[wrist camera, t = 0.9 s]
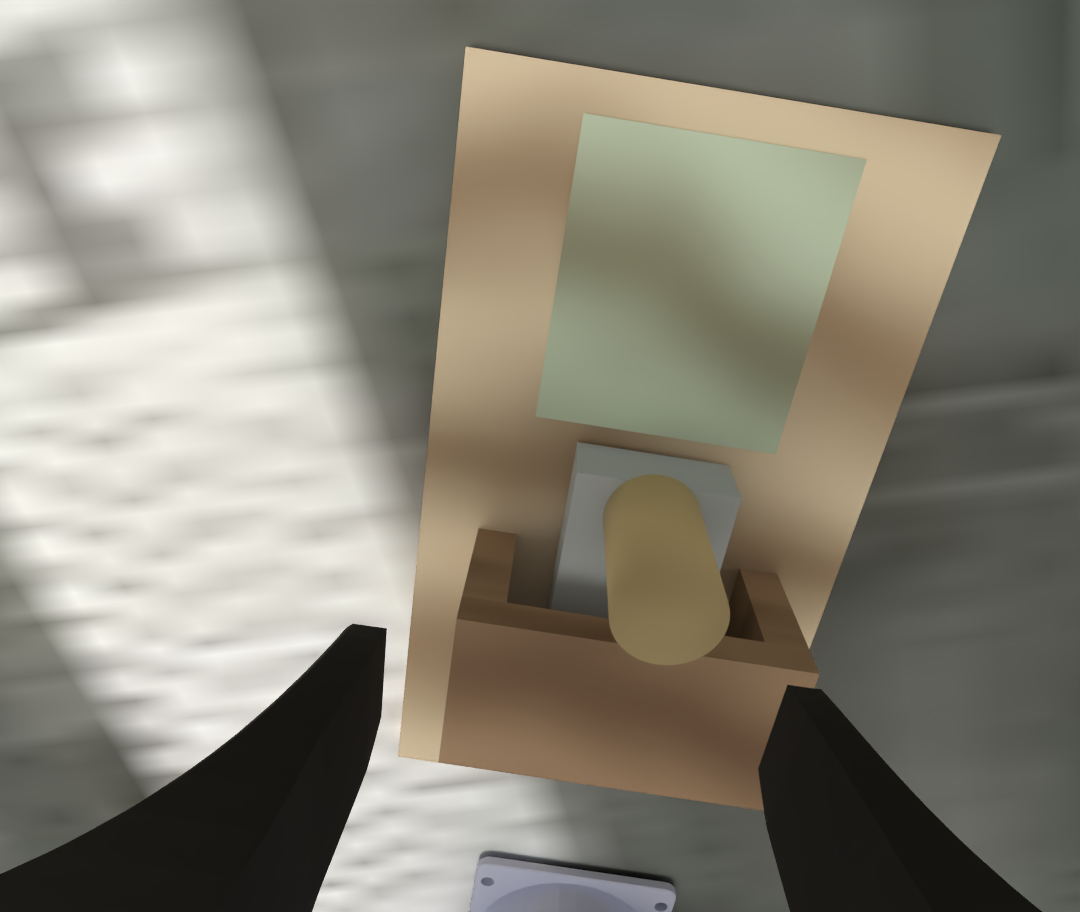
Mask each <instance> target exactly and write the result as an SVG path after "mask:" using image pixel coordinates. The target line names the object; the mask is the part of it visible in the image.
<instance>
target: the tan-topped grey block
mask: <svg viewBox="0 0 1080 912" xmlns="http://www.w3.org/2000/svg"><path fill="white" fill-rule="evenodd" d="M741 499H742V497H741V495H740V493H739V490H738V488H737V485H736V483H735V481H734V478H733V476H732V473H731V471H730V469H729V466H727V465H721V464H714V463H708V462H702V461H695V460H689V459H682V458H676V457H670V456H663V455H657V454H651V453H644V452H638V451H631V450H625V449H619V448H612V447H606V446H599V445H593V444H587V443H580V442H577V447H576V452H575V458H574V463H573V468H572V474H571V479H570V484H569V490H568V495H567V501H566V506H565V511H564V517H563V522H562V527H561V533H560V538H559V544H558V549H557V554H556V560H555V565H554V571H553V576H552V581H551V587H550V592H549V597H548V603H547V608H546V609H551V610H557V611H564V612H570V613H577V614H584V615H590V616H597V617H603V618H609V625H610V629H611V632H612V634H613V636H614V638H615V640H616V641H617V643H618V644H619V645H620V646H621V647H622V648H623V649H624V650H625V651H626V652H627V653H629V654H630V655H632V656H633V657H635V658H637V659H639V660H642V661H644V662H648V663H652V664H657V665H678V664H683V663H687V662H691V661H694V660H696V659H698V658H700V657H702V656H704V655H705V654H707V653H709V652H710V651H711V650H712V649H714V648H715V647H716V646H717V645H718V644H719V642H720V641H721V640H722V638H723V637H724V635H725V633H726V631H727V628H728V625H729V621H730V607H729V603H728V599H727V596H726V593H725V589H724V586H723V583H722V579H721V576H720V570H721V566H722V563H723V560H724V556H725V553H726V549H727V546H728V543H729V539H730V536H731V533H732V529H733V526H734V522H735V519H736V516H737V512H738V509H739V506H740V502H741Z"/></svg>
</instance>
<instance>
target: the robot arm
mask: <svg viewBox="0 0 1080 912" xmlns="http://www.w3.org/2000/svg"><path fill="white" fill-rule="evenodd" d="M386 630H387V629H386V628H379V627H372V626H365V625H357V624H352V625H350V626H349V627H347V628H346V629H345V630H344V631H343V632H342V633H341V635H340V636H339V637H338V638H337V639H336V640H335V641H334V642H333V643H332V645H331V646H330V647H329V648H328V649H327V650H326V651H325V652H324V653H323V654H322V655H321V656H320V657H319V658H318V659H317V661H316V662H315V663H314V664H313V665H312V666H311V667H310V668H309V669H308V670H307V671H306V672H305V673H304V674H303V675H302V676H301V677H300V678H299V679H298V680H296V681H295V682H294V683H293V684H292V685H291V686H290V687H289V688H288V689H287V690H286V691H285V692H284V693H283V694H282V695H281V696H280V697H279V698H278V699H277V700H275V701H274V702H273V703H272V704H271V705H270V706H269V707H268V708H266V709H265V710H264V711H263V712H262V713H261V714H260V715H258V716H257V717H256V718H255V719H254V720H253V721H251V722H250V723H249V724H248V725H247V726H246V727H244V728H243V729H242V730H241V731H240V732H239V733H237V734H236V735H235V736H234V737H232V738H231V739H230V740H229V741H227V742H226V743H225V744H223V745H222V746H221V747H220V748H218V749H217V750H216V751H214V752H213V753H212V754H210V755H209V756H208V757H206V758H205V759H204V760H202V761H201V762H199V763H198V764H197V765H195V766H194V767H193V768H191V769H190V770H188V771H187V772H185V773H184V774H182V775H181V776H179V777H178V778H176V779H175V780H173V781H172V782H170V783H169V784H167V785H166V786H164V787H163V788H161V789H160V790H158V791H157V792H155V793H154V794H152V795H151V796H149V797H148V798H146V799H144V800H143V801H141V802H140V803H138V804H136V805H135V806H133V807H131V808H130V809H128V810H126V811H125V812H123V813H121V814H119V815H117V816H116V817H114V818H112V819H110V820H108V821H107V822H105V823H103V824H101V825H99V826H98V827H96V828H94V829H92V830H91V831H89V832H87V833H85V834H83V835H81V836H79V837H78V838H76V839H74V840H72V841H70V842H68V843H66V844H64V845H62V846H60V847H58V848H56V849H54V850H52V851H50V852H48V853H46V854H43V855H41V856H39V857H37V858H35V859H33V860H30V861H28V862H26V863H24V864H22V865H20V866H17V867H15V868H13V869H11V870H9V871H6V872H4V873H2V874H0V912H312V910H313V907H314V904H315V901H316V898H317V896H318V893H319V890H320V887H321V885H322V882H323V880H324V877H325V875H326V872H327V870H328V867H329V865H330V862H331V860H332V857H333V855H334V852H335V850H336V847H337V845H338V842H339V840H340V837H341V834H342V832H343V829H344V827H345V824H346V822H347V819H348V817H349V814H350V812H351V809H352V807H353V804H354V802H355V799H356V796H357V794H358V791H359V789H360V786H361V784H362V781H363V778H364V776H365V773H366V771H367V767H368V764H369V760H370V756H371V753H372V749H373V745H374V742H375V738H376V734H377V730H378V727H379V723H380V719H381V711H382V695H383V679H384V662H385V646H386ZM758 772H759V779H760V787H761V794H762V801H763V807H764V814H765V820H766V826H767V830H768V833H769V837H770V841H771V845H772V848H773V852H774V856H775V859H776V863H777V867H778V870H779V874H780V877H781V881H782V884H783V888H784V891H785V895H786V898H787V902H788V906H789V909H790V912H1042V911H1041V910H1039V909H1038V908H1037V907H1035V906H1034V905H1033V904H1032V903H1031V902H1029V901H1028V900H1027V899H1026V898H1025V897H1023V896H1022V895H1021V894H1020V893H1019V892H1017V891H1016V890H1015V889H1014V888H1013V887H1011V886H1010V885H1009V884H1008V883H1007V882H1006V881H1005V880H1004V879H1002V878H1001V877H1000V876H999V875H998V874H997V873H996V872H995V871H993V870H992V869H991V868H990V867H989V866H988V865H987V864H986V863H984V862H983V861H982V860H981V859H980V858H979V857H978V856H977V855H975V854H974V853H973V852H972V851H971V850H970V849H969V848H968V847H967V846H966V845H965V844H964V843H963V842H962V841H961V840H959V839H958V838H957V837H956V836H955V835H954V834H953V833H952V832H951V831H950V830H949V829H948V828H947V827H946V826H945V825H944V824H943V823H942V822H941V821H940V820H939V819H938V818H937V817H936V816H935V815H934V814H933V813H932V812H931V811H930V810H929V809H928V808H927V807H926V806H925V805H924V803H923V802H922V801H921V800H920V799H919V798H918V797H917V796H916V795H915V794H914V793H913V792H912V791H911V790H910V789H909V788H908V787H907V785H906V784H905V783H904V782H903V781H902V780H901V779H900V778H899V777H898V776H897V775H896V773H895V772H894V771H893V770H892V769H891V768H890V767H889V766H888V765H887V764H886V762H885V761H884V760H883V759H882V758H881V757H880V756H879V755H878V753H877V752H876V751H875V750H874V749H873V748H872V747H871V745H870V744H869V743H868V742H867V741H866V740H865V739H864V737H863V736H862V735H861V734H860V733H859V732H858V731H857V729H856V728H855V727H854V726H853V725H852V724H851V722H850V721H849V720H848V719H847V718H846V717H845V716H844V714H843V713H842V712H841V711H840V710H839V709H838V707H837V706H836V705H835V704H834V703H833V702H832V701H831V700H830V698H829V697H828V696H827V695H826V694H825V693H824V692H823V691H822V690H821V689H814V688H807V687H800V686H793V685H787V687H786V690H785V693H784V696H783V699H782V702H781V704H780V707H779V710H778V713H777V716H776V719H775V722H774V725H773V727H772V730H771V733H770V736H769V739H768V742H767V745H766V748H765V750H764V753H763V756H762V759H761V762H760V765H759V768H758ZM675 901H676V892H675V888H674V886H673V885H671V884H670V883H667V882H662V881H655V880H648V879H641V878H634V877H628V876H621V875H614V874H607V873H600V872H593V871H587V870H580V869H573V868H566V867H559V866H552V865H546V864H539V863H532V862H525V861H518V860H511V859H504V858H498V857H484V858H482V859H480V860H479V861H478V864H477V869H476V875H475V881H474V887H473V893H472V899H471V905H470V911H469V912H672V910H673V907H674V904H675Z"/></svg>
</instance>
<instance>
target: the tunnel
mask: <svg viewBox="0 0 1080 912" xmlns="http://www.w3.org/2000/svg"><path fill="white" fill-rule="evenodd" d="M516 537H517V534H513V533H507V532H500V531H494V530H487V529H481V528H478V532H477V536H476V540H475V545H474V549H473V553H472V557H471V561H470V565H469V569H468V573H467V578H466V582H465V586H464V590H463V594H462V598H461V602H460V606H459V610H458V615H457V619H456V626H455V634H454V642H453V650H452V658H451V666H450V674H449V682H448V690H447V698H446V706H445V714H444V722H443V730H442V738H441V745H440V753H439V761H438V762H439V763H446V764H452V765H459V766H466V767H473V768H479V769H486V770H493V771H500V772H506V773H513V774H520V775H527V776H533V777H540V778H547V779H554V780H560V781H567V782H574V783H581V784H587V785H594V786H601V787H608V788H614V789H621V790H628V791H634V792H641V793H648V794H655V795H661V796H668V797H675V798H682V799H688V800H695V801H702V802H709V803H715V804H722V805H729V806H736V807H742V808H749V809H756V810H763V811H764V807H763V801H762V794H761V787H760V779H759V772H758V768H759V765H760V762H761V759H762V756H763V753H764V750H765V748H766V745H767V742H768V739H769V736H770V733H771V730H772V727H773V725H774V722H775V719H776V716H777V713H778V710H779V707H780V704H781V702H782V699H783V696H784V693H785V690H786V687H787V685H793V686H800V687H807V688H815V685H816V683H817V680H818V677H819V675H820V673H819V671H818V669H817V666H816V664H815V662H814V659H813V657H812V655H811V652H810V650H809V648H808V645H807V643H806V641H805V638H804V636H803V633H802V631H801V629H800V626H799V624H798V622H797V619H796V617H795V615H794V612H793V610H792V608H791V605H790V603H789V600H788V598H787V596H786V593H785V591H784V589H783V586H782V584H781V582H780V579H779V577H778V575H777V574H773V573H766V572H760V571H753V570H747V569H740V568H739V571H738V575H737V578H736V581H735V584H734V588H733V591H732V594H731V597H730V601H729V607H730V621H729V625H728V628H727V631H726V633H725V635H724V637H723V638H722V640H721V641H720V642H719V644H718V645H717V646H716V647H715V648H714V649H712V650H711V651H710V652H709V653H707V654H705V655H704V656H702V657H700V658H698V659H696V660H694V661H691V662H687V663H683V664H678V665H657V664H652V663H648V662H644V661H642V660H639V659H637V658H635V657H633V656H632V655H630V654H629V653H627V652H626V651H625V650H624V649H623V648H622V647H621V646H620V645H619V644H618V643H617V641H616V640H615V638H614V636H613V634H612V632H611V629H610V625H609V618H603V617H597V616H590V615H584V614H577V613H570V612H564V611H557V610H551V609H544V608H538V607H531V606H525V605H518V604H511V603H507V597H508V590H509V584H510V577H511V570H512V564H513V557H514V550H515V543H516Z"/></svg>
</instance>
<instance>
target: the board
mask: <svg viewBox="0 0 1080 912" xmlns="http://www.w3.org/2000/svg"><path fill="white" fill-rule="evenodd" d="M1000 138H1001V135H997V134H991V133H985V132H978V131H972V130H966V129H960V128H954V127H948V126H942V125H936V124H930V123H924V122H918V121H912V120H906V119H900V118H894V117H888V116H882V115H876V114H870V113H864V112H858V111H852V110H846V109H840V108H834V107H828V106H822V105H816V104H809V103H803V102H797V101H791V100H785V99H779V98H773V97H767V96H761V95H755V94H749V93H743V92H737V91H731V90H725V89H719V88H713V87H707V86H701V85H695V84H689V83H683V82H677V81H671V80H665V79H659V78H653V77H646V76H640V75H634V74H628V73H622V72H616V71H610V70H604V69H598V68H592V67H586V66H580V65H574V64H568V63H562V62H556V61H550V60H544V59H538V58H532V57H526V56H520V55H514V54H508V53H502V52H496V51H490V50H484V49H477V48H471V47H466V50H465V60H464V71H463V81H462V92H461V102H460V113H459V123H458V134H457V144H456V155H455V165H454V176H453V186H452V197H451V207H450V218H449V228H448V239H447V249H446V260H445V270H444V281H443V291H442V302H441V312H440V323H439V333H438V344H437V354H436V365H435V375H434V386H433V396H432V407H431V417H430V428H429V438H428V449H427V459H426V470H425V480H424V491H423V501H422V512H421V522H420V533H419V543H418V554H417V564H416V575H415V585H414V596H413V606H412V617H411V627H410V638H409V648H408V659H407V669H406V680H405V690H404V701H403V711H402V722H401V732H400V743H399V753H398V757H405V758H412V759H419V760H425V761H432V762H438V761H439V753H440V745H441V738H442V730H443V722H444V714H445V706H446V698H447V690H448V682H449V674H450V666H451V658H452V650H453V642H454V634H455V626H456V619H457V615H458V610H459V606H460V602H461V598H462V594H463V590H464V586H465V582H466V578H467V573H468V569H469V565H470V561H471V557H472V553H473V549H474V545H475V540H476V536H477V532H478V528H481V529H487V530H494V531H500V532H507V533H513V534H517V537H516V543H515V550H514V557H513V564H512V570H511V577H510V584H509V590H508V597H507V603H511V604H518V605H525V606H531V607H538V608H544V609H546V608H547V603H548V597H549V592H550V587H551V581H552V576H553V571H554V565H555V560H556V554H557V549H558V544H559V538H560V533H561V527H562V522H563V517H564V511H565V506H566V501H567V495H568V490H569V484H570V479H571V474H572V468H573V463H574V458H575V452H576V447H577V442H580V443H587V444H593V445H599V446H606V447H612V448H619V449H625V450H631V451H638V452H644V453H651V454H657V455H663V456H670V457H676V458H682V459H689V460H695V461H702V462H708V463H714V464H721V465H727V466H729V469H730V471H731V473H732V476H733V478H734V481H735V483H736V485H737V488H738V490H739V493H740V495H741V497H742V499H741V502H740V506H739V509H738V512H737V516H736V519H735V522H734V526H733V529H732V533H731V536H730V539H729V543H728V546H727V549H726V553H725V556H724V560H723V563H722V566H721V570H720V576H721V579H722V583H723V586H724V589H725V593H726V596H727V599H728V603H729V601H730V597H731V594H732V591H733V588H734V584H735V581H736V578H737V575H738V571H739V568H740V569H747V570H753V571H760V572H766V573H773V574H777V575H778V577H779V579H780V582H781V584H782V586H783V589H784V591H785V593H786V596H787V598H788V600H789V603H790V605H791V608H792V610H793V612H794V615H795V617H796V619H797V622H798V624H799V626H800V629H801V631H802V633H803V636H804V638H805V641H806V643H807V645H808V648H809V649H810V646H811V643H812V641H813V638H814V635H815V633H816V630H817V627H818V625H819V622H820V619H821V617H822V614H823V611H824V609H825V606H826V603H827V601H828V598H829V595H830V592H831V590H832V587H833V584H834V582H835V579H836V576H837V574H838V571H839V568H840V566H841V563H842V560H843V558H844V555H845V552H846V550H847V547H848V544H849V542H850V539H851V536H852V534H853V531H854V528H855V526H856V523H857V520H858V518H859V515H860V512H861V510H862V507H863V504H864V502H865V499H866V496H867V493H868V491H869V488H870V485H871V483H872V480H873V477H874V475H875V472H876V469H877V467H878V464H879V461H880V459H881V456H882V453H883V451H884V448H885V445H886V443H887V440H888V437H889V435H890V432H891V429H892V427H893V424H894V421H895V419H896V416H897V413H898V411H899V408H900V405H901V403H902V400H903V397H904V394H905V392H906V389H907V386H908V384H909V381H910V378H911V376H912V373H913V370H914V368H915V365H916V362H917V360H918V357H919V354H920V352H921V349H922V346H923V344H924V341H925V338H926V336H927V333H928V330H929V328H930V325H931V322H932V320H933V317H934V314H935V312H936V309H937V306H938V304H939V301H940V298H941V295H942V293H943V290H944V287H945V285H946V282H947V279H948V277H949V274H950V271H951V269H952V266H953V263H954V261H955V258H956V255H957V253H958V250H959V247H960V245H961V242H962V239H963V237H964V234H965V231H966V229H967V226H968V223H969V221H970V218H971V215H972V213H973V210H974V207H975V205H976V202H977V199H978V196H979V194H980V191H981V188H982V186H983V183H984V180H985V178H986V175H987V172H988V170H989V167H990V164H991V162H992V159H993V156H994V154H995V151H996V148H997V146H998V143H999V140H1000ZM553 780H554V779H553ZM580 784H581V783H580ZM607 788H608V787H607ZM735 807H736V806H735Z"/></svg>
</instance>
